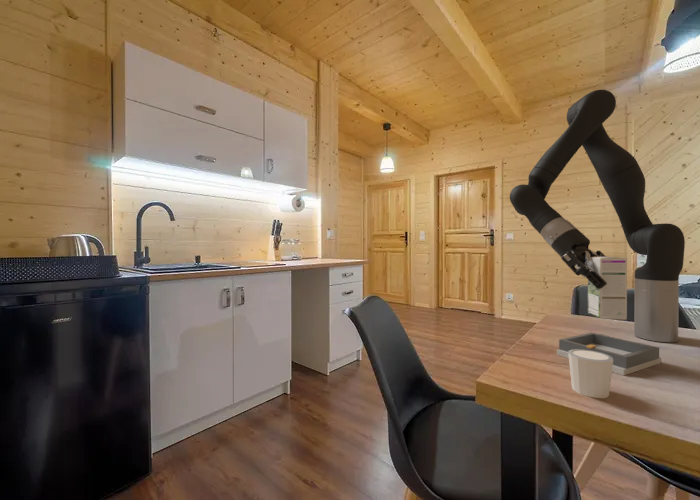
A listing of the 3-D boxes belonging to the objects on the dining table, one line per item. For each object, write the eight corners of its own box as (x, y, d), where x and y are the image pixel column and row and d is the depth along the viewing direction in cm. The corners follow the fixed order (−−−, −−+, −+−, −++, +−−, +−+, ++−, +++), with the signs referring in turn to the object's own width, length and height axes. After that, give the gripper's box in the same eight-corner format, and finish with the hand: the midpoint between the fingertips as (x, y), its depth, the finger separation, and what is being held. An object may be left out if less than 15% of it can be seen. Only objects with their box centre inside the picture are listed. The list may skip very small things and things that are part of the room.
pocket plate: (593, 345, 86) (593, 330, 86) (661, 362, 73) (661, 345, 73) (556, 354, 79) (556, 338, 79) (623, 375, 67) (623, 356, 67)
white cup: (559, 383, 63) (559, 348, 63) (594, 383, 63) (594, 348, 63) (584, 399, 57) (584, 361, 56) (623, 400, 56) (623, 361, 56)
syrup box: (628, 320, 73) (629, 257, 72) (599, 318, 74) (600, 257, 74) (612, 314, 78) (613, 256, 78) (586, 313, 80) (587, 256, 79)
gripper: (557, 227, 80) (609, 277, 69) (590, 228, 86) (643, 274, 75) (536, 247, 84) (582, 297, 74) (569, 247, 90) (616, 293, 80)
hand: (613, 285), depth 75 cm, fingers closed on syrup box, 8 cm apart
